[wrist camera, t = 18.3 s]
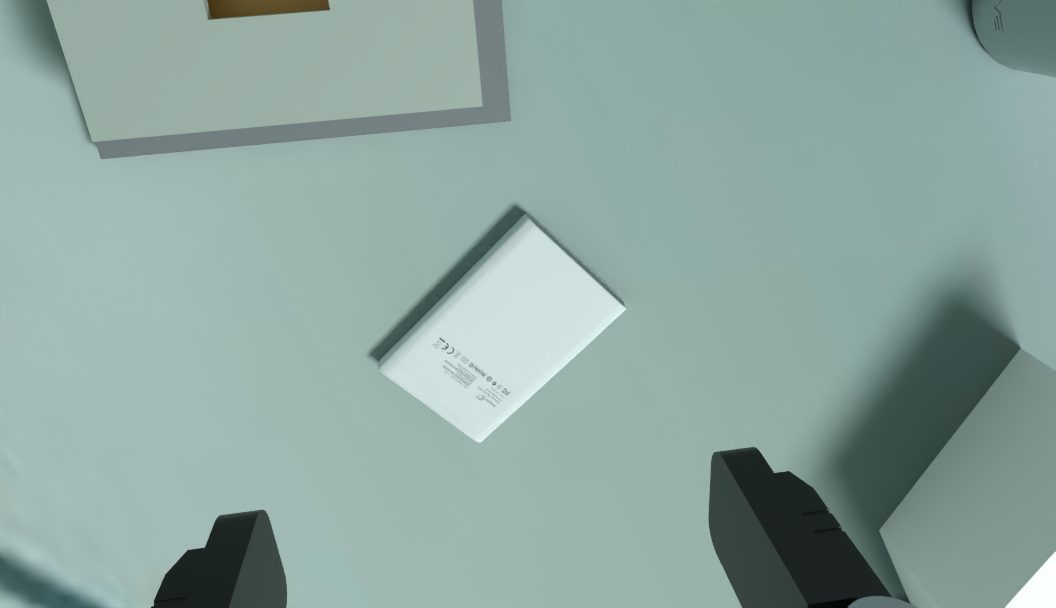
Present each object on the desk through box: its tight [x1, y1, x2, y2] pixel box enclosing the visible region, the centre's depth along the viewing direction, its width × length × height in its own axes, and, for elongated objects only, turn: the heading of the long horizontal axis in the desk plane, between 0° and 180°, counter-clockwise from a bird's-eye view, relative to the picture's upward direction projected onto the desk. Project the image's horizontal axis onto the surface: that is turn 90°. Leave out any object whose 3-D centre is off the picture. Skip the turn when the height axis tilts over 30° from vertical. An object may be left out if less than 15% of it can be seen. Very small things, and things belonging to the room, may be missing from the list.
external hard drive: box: [378, 213, 626, 443], centre depth 43 cm, size 2×8×12 cm
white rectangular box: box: [879, 348, 1056, 608], centre depth 50 cm, size 14×29×10 cm, turn 2°
